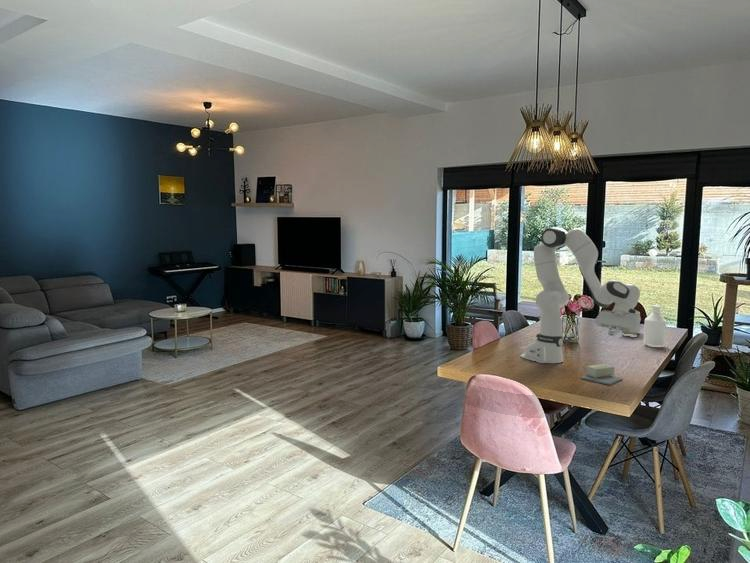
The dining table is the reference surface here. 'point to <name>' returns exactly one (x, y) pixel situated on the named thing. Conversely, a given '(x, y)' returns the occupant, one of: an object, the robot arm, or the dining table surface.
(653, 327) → the bottle
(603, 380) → the mat
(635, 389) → the dining table surface
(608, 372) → the skincare box
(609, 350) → the dining table surface
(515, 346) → the dining table surface
